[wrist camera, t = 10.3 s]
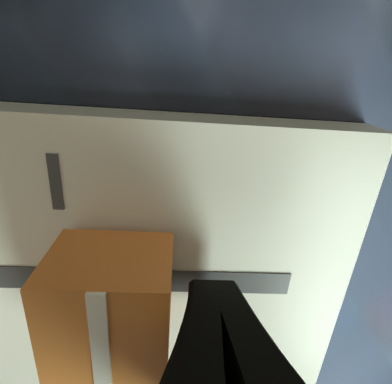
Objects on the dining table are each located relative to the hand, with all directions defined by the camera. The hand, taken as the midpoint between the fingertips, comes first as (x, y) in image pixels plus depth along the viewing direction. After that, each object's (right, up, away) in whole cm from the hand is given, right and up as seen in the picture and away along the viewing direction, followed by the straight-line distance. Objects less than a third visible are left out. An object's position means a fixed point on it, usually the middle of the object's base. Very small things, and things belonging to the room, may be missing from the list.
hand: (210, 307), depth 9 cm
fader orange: (-3, 0, 0) cm, 3 cm away
